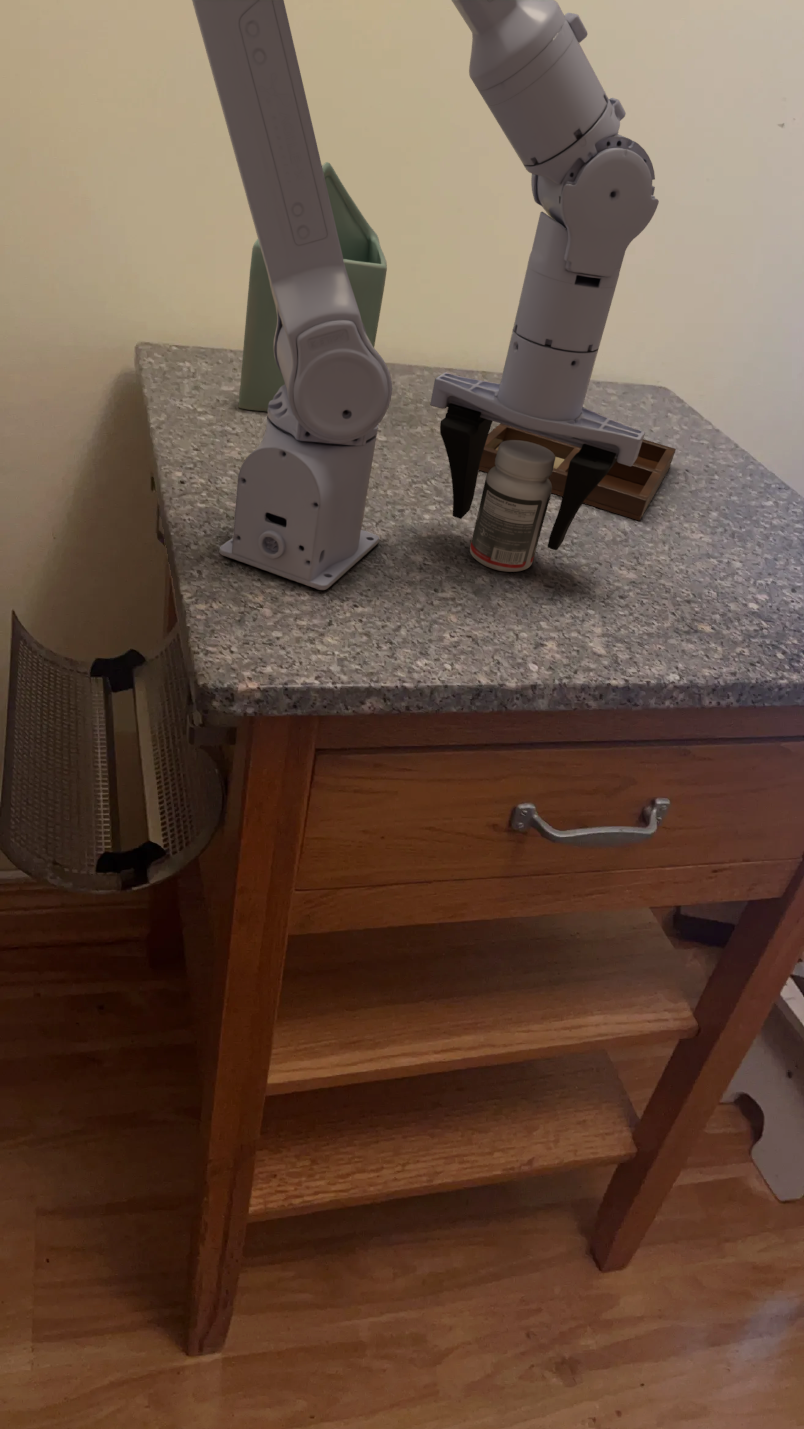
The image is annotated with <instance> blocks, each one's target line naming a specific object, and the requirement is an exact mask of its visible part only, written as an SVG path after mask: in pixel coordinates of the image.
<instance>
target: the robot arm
mask: <svg viewBox="0 0 804 1429" xmlns="http://www.w3.org/2000/svg"><path fill="white" fill-rule="evenodd" d="M191 2H192V6H193V9H194V13H195V17H196V20H197V24H198V27H199V31H200V36H201V38H202V41H203V44H204V48H205V52H206V56H207V60H208V63H209V67H210V70H211V73H212V77H213V78H212V79H213V81H214V84H215V88H216V92H217V96H218V99H219V102H220V103H219V104H220V106H221V110H222V114H223V117H224V122H225V125H226V128H227V132H228V136H229V139H230V142H231V146H232V149H233V153H234V158H235V161H236V164H237V168H238V171H239V175H240V179H241V182H242V186H243V189H244V193H245V196H246V201H247V205H248V207H249V210H250V211H249V212H250V215H251V219H252V222H253V226H254V230H255V233H256V237H257V239H258V240H259V244H260V248H261V251H262V255H263V258H264V262H265V266H266V269H267V273H268V277H269V282H270V287H271V291H272V295H273V299H274V302H275V306H276V312H277V326H276V331H275V336H274V345H273V349H274V357H275V360H276V363H277V366H278V368H279V370H280V372H281V373H282V376H283V379H284V382H285V385H283V386H281V387H280V389H279V390H278V392H277V393H276V394H275V396H274V398H273V400H271V401H270V402H269V404H268V412H266V413H267V416H266V424H265V430H264V432H263V436H262V439H261V440H260V442H259V444H258V445H257V446H256V448H255V449H254V450H252V451H251V452H250V453H249V454H248V455H247V457H245V459H244V460H243V462H242V463H241V466H240V469H239V471H238V476H237V487H236V498H235V509H234V519H233V522H234V523H233V531H232V532H233V534H232V538H230V539H229V540H227V541H226V542H224V543H223V544H222V545H220V546H219V549H218V550H219V554H220V555H221V556H223V557H226V558H229V559H231V560H235V561H237V562H240V563H243V564H246V565H248V566H251V567H254V568H256V569H260V570H262V571H265V572H268V573H270V574H273V575H276V576H279V577H281V578H285V579H287V580H290V581H293V582H296V583H298V584H302V585H305V586H307V587H311V588H313V589H316V590H318V591H327V589H329V588H330V587H331V586H332V585H334V584H335V583H336V582H337V581H338V580H339V579H340V578H341V577H342V576H344V575H345V574H346V573H347V572H348V571H349V570H351V568H352V567H353V566H355V565H356V564H357V563H358V562H359V561H360V560H361V559H362V558H363V557H365V556H366V555H367V554H368V553H369V552H370V551H372V549H374V548H375V547H376V546H377V545H378V544H379V542H380V536H379V535H377V534H376V533H373V532H370V531H367V530H364V529H362V528H363V521H364V516H365V510H366V502H367V498H368V492H369V491H368V490H369V485H370V478H371V473H372V467H373V461H374V454H375V448H376V442H377V436H378V431H379V424H380V423H381V421H382V420H383V418H384V417H385V416H386V414H387V411H388V410H389V407H390V403H391V400H392V395H393V382H392V375H391V372H390V370H389V367H388V365H387V363H386V361H385V360H384V359H383V357H382V356H381V355H380V353H379V352H378V350H376V348H375V346H374V347H373V346H372V344H371V342H370V340H369V338H368V337H367V334H366V330H365V327H364V325H363V323H362V321H361V316H360V312H359V309H358V306H357V303H356V299H355V296H354V293H353V290H352V287H351V284H350V281H349V278H348V275H347V271H346V268H345V264H344V260H343V256H342V251H341V247H340V243H339V238H338V234H337V230H336V225H335V221H334V217H333V212H332V208H331V204H330V199H329V195H328V191H327V186H326V182H325V178H324V173H323V169H322V165H323V164H322V161H321V157H320V152H319V148H318V142H317V139H316V134H315V130H314V126H313V122H312V118H311V113H310V108H309V104H308V99H307V95H306V92H305V88H304V86H305V85H304V83H303V82H304V81H303V78H302V74H301V70H300V69H301V68H300V66H299V61H298V57H297V52H296V47H295V43H294V39H293V35H292V30H291V26H290V22H289V18H288V13H287V9H286V4H285V0H191ZM451 2H452V3H453V5H454V7H455V8H456V10H457V11H458V13H459V15H460V16H461V17H462V19H463V21H464V23H465V24H466V25H467V27H468V29H469V30H470V32H471V35H472V38H471V39H472V41H471V51H470V59H469V66H468V67H469V68H468V74H469V78H470V80H471V81H472V83H473V84H474V86H475V88H476V90H477V91H478V93H479V94H480V96H481V97H482V99H483V101H484V103H485V104H486V106H487V108H488V109H489V110H490V113H491V114H492V116H493V118H494V119H495V121H496V122H497V124H498V126H499V127H500V129H501V130H502V132H503V134H504V135H505V138H506V139H507V140H508V142H509V144H510V145H511V148H513V150H514V152H515V154H516V156H517V157H518V159H519V160H520V162H521V164H522V165H523V167H524V168H525V170H526V172H528V173H530V174H531V180H530V181H531V184H530V185H531V193H532V198H533V201H534V202H535V203H536V204H537V205H539V206H541V207H542V209H543V210H544V211H540V213H539V216H538V221H537V226H536V230H535V234H534V239H533V243H532V246H531V247H532V248H531V251H530V254H529V257H528V261H527V266H526V270H525V273H524V274H525V275H524V279H523V282H522V283H523V284H522V286H521V287H522V288H521V291H520V292H521V293H520V296H519V301H518V305H517V310H516V313H515V317H514V318H515V319H514V322H513V328H512V331H511V335H510V340H509V343H508V348H507V352H506V358H505V361H504V366H503V370H502V374H501V379H500V383H498V382H492V381H487V380H481V379H476V378H471V377H466V376H461V375H457V374H454V373H450V372H447V371H444V372H443V373H441V374H440V375H438V376H437V377H435V378H434V382H433V388H432V393H431V397H430V404H429V405H430V406H431V407H435V408H438V409H442V410H445V409H446V408H447V411H446V413H445V416H444V418H443V419H441V421H440V423H439V433H440V436H441V439H442V441H443V445H444V449H445V452H446V455H447V459H448V464H449V470H450V476H451V483H452V484H451V485H452V486H451V487H452V517H454V518H456V519H460V520H462V519H463V518H464V517H465V516H466V515H467V514H468V512H470V511H471V507H472V504H473V501H474V498H475V492H476V486H477V481H478V475H479V471H480V470H479V465H480V461H481V457H482V454H483V450H484V447H485V443H486V440H487V437H488V434H489V433H490V431H491V427H492V424H493V422H495V423H498V424H500V423H501V424H504V425H508V426H511V427H514V428H518V429H521V430H524V431H527V432H531V433H534V434H537V435H541V436H544V437H547V438H550V439H554V440H557V441H560V442H563V443H567V444H570V445H573V446H577V447H580V448H581V450H580V451H579V452H578V453H576V455H575V456H574V457H573V458H572V459H571V461H570V464H569V468H568V474H567V479H566V484H565V489H564V493H563V496H561V497H562V498H561V502H560V506H559V510H558V513H557V515H556V517H555V520H554V523H553V526H552V529H551V531H550V535H549V539H548V542H547V548H548V549H551V550H554V551H557V550H559V548H560V547H561V545H562V544H563V542H564V541H565V537H566V535H567V532H568V530H569V528H570V527H571V524H572V522H573V521H574V519H575V516H576V515H577V513H578V511H579V510H580V508H582V505H583V504H584V503H583V502H584V500H585V499H586V498H587V496H588V495H589V494H590V493H591V492H592V490H593V489H594V488H595V487H596V486H597V485H598V484H599V482H600V481H601V480H602V479H603V478H604V477H605V476H606V474H607V473H608V472H609V470H610V469H611V467H612V466H613V465H614V463H615V462H616V460H617V462H618V463H621V464H624V465H627V466H632V465H633V464H634V462H635V460H636V459H637V457H638V454H639V450H640V447H641V444H642V441H643V439H645V436H646V435H645V434H646V431H644V430H641V429H639V428H635V427H632V426H631V425H628V424H627V425H626V424H624V423H622V422H619V421H618V420H617V421H616V420H614V419H612V418H610V417H607V416H606V415H602V414H600V413H598V412H597V411H593V410H591V409H589V408H586V407H584V403H585V399H586V396H587V392H588V389H589V385H590V382H591V378H592V374H593V371H594V367H595V364H596V359H597V356H598V353H599V349H600V346H601V342H602V339H603V335H604V331H605V327H606V324H607V320H608V317H609V313H610V310H611V306H612V302H613V299H614V295H615V292H616V288H617V284H618V281H619V277H620V272H621V269H622V265H623V261H624V258H625V254H626V251H627V249H628V248H629V245H631V243H632V242H633V240H634V239H636V238H637V237H638V236H639V235H640V234H641V233H643V231H644V230H645V229H646V228H647V226H648V225H649V223H651V220H652V219H653V217H654V215H655V213H656V211H657V209H658V206H659V199H658V198H656V196H655V188H656V187H655V185H653V181H654V180H656V174H655V169H654V166H653V162H652V160H651V157H650V156H649V154H648V152H647V151H646V150H645V148H644V147H642V146H641V145H640V144H639V143H638V142H636V141H635V140H632V139H631V138H628V137H627V136H625V135H622V134H619V131H620V127H621V121H622V120H623V119H624V118H625V117H626V115H627V113H626V111H625V109H624V107H623V105H622V102H621V101H620V99H617V98H615V97H610V98H609V96H608V95H607V93H606V91H605V89H604V88H603V85H602V84H601V81H600V80H599V78H598V76H597V74H596V72H595V70H594V68H593V67H592V65H591V63H590V60H589V59H588V57H587V56H586V54H585V52H584V50H583V48H582V46H581V44H580V43H581V42H583V41H584V40H585V39H586V38H587V37H588V30H587V28H586V27H585V25H584V22H583V21H582V19H581V16H580V15H579V14H577V13H573V12H567V13H565V14H564V12H563V10H562V8H561V7H560V4H559V3H558V2H557V0H451Z"/></svg>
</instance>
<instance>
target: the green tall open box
mask: <svg viewBox="0 0 804 1429" xmlns="http://www.w3.org/2000/svg"><path fill="white" fill-rule="evenodd" d="M322 169H323V173H324V178H325V182H326V186H327V191H328V195H329V199H330V204H331V208H332V212H333V217H334V221H335V225H336V230H337V234H338V238H339V243H340V247H341V251H342V256H343V260H344V264H345V268H346V271H347V275H348V278H349V281H350V284H351V287H352V290H353V293H354V296H355V299H356V303H357V306H358V309H359V312H360V316H361V321H362V323H363V325H364V327H365V330H366V334H367V337H368V338H369V340H370V342H371V344H372V346H373V347H374V348H375V346H376V339H377V333H378V327H379V323H380V322H379V321H380V316H381V310H382V304H383V297H384V292H385V285H386V278H387V270H388V264H387V263H388V262H387V259H386V256H385V254H384V252H383V249H382V248H381V244H380V239H379V236H378V234H377V233H376V231H375V230H374V229H373V228H372V227H371V225H370V223H369V222H368V221H367V219H366V218H365V216H364V215H363V213H362V212H361V211H360V208H359V207H358V206H357V204H356V203H355V201H354V200H353V198H352V197H351V195H350V194H349V193H348V191H347V189H346V187H345V185H344V184H343V182H342V181H341V179H340V178H339V176H338V174H337V172H336V171H335V169H334V167H333V166H332V164H331V163H330V162H328V161H326V162H324V163H323V164H322ZM248 279H249V280H248V290H247V302H246V312H245V313H246V314H245V323H244V324H245V325H244V336H243V346H242V347H243V349H242V358H241V359H242V360H241V372H240V384H239V385H240V386H239V396H238V408H239V409H241V410H247V411H256V412H257V411H258V412H266V413H268V404H269V402H270V401H271V400H273V398H274V396H275V394H276V393H277V392H278V390H279V389H280V387H281V386H283V385H285V382H284V379H283V376H282V373H281V372H280V370H279V368H278V366H277V363H276V360H275V357H274V349H273V345H274V336H275V331H276V326H277V312H276V306H275V302H274V299H273V295H272V291H271V287H270V282H269V277H268V273H267V269H266V266H265V262H264V258H263V255H262V251H261V248H260V244H259V240H258V238H257V239H256V240H255V242H254V244H253V246H252V248H251V258H250V268H249V278H248Z"/></svg>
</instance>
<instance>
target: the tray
mask: <svg viewBox="0 0 804 1429" xmlns="http://www.w3.org/2000/svg"><path fill="white" fill-rule="evenodd" d="M508 440H520V441H527V442H531V443H535V444H538V445H540V446H543V447H545V448H547V449H549V450H550V451H551V452H553V453H554V455H555V462H554V467H553V472H552V474H551V476H550V477H549V478H548V479H549V480H550V482H551V485H552V491H551V494H553V495H557V496H560V497H563V493H564V489H565V484H566V479H567V474H568V468H569V464H570V461H571V459H572V458H573V457H574V456H575V455H576V453H578V452H579V451H580V450H581V448H580V447H577V446H573V445H570V444H567V443H563V442H560V441H557V440H554V439H550V438H547V437H544V436H541V435H537V434H534V433H531V432H527V431H524V430H521V429H518V428H514V427H511V426H508V425H504V424H501V423H498V425H497V426H495V427H494V428H493V429H492V430H490V431H489V434H488V437H487V440H486V443H485V447H484V450H483V454H482V457H481V461H480V465H479V470H478V471H482V472H484V473H486V474H487V473H488V472H489V470H490V469H491V468H493V467H494V466H496V465H495V458H496V455H497V452H498V448H499V445H500V443H502V442H504V441H508ZM676 450H677V449H676V448H674V447H671V446H668V445H664V444H661V443H658V442H654V441H651V440H648V439H645V438H643V441H642V444H641V447H640V450H639V454H638V457H637V459H636V460H635V462H634V464H633V465H632V466H627V465H624V464H621V463H618V462H617V460H616V462H615V463H614V465H613V466H612V467H611V469H610V470H609V472H608V473H607V474H606V476H605V477H604V478H603V479H602V480H601V481H600V482H599V484H598V485H597V486H596V487H595V488H594V489H593V490H592V492H591V493H590V494H589V495H588V496H587V498H586V499H585V500H584V502H583V503H582V504H585V505H589V506H591V507H594V508H598V509H601V510H604V511H607V512H611V513H613V514H616V515H620V516H622V517H626V518H629V519H632V520H635V521H639V522H640V521H641V519H642V518H643V516H644V514H645V512H646V511H647V509H648V507H649V505H650V503H651V501H652V500H653V498H654V496H655V495H656V493H657V491H658V489H659V487H660V486H661V484H662V482H663V481H664V478H665V477H666V475H667V473H668V471H669V470H670V468H671V465H672V462H673V459H674V456H675V453H676Z"/></svg>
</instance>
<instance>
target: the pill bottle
mask: <svg viewBox="0 0 804 1429" xmlns="http://www.w3.org/2000/svg"><path fill="white" fill-rule="evenodd" d="M554 462H555V455H554V453H553V452H551V451H550V450H549V449H547V448H545V447H543V446H540V445H538V444H535V443H531V442H527V441H520V440H508V441H504V442H502V443H500V445H499V448H498V452H497V455H496V458H495V465H496V466H494V467H493V468H491V469H490V470H489V472H488V473H487V472H486V477H485V480H484V484H483V485H484V486H483V489H482V492H481V493H482V494H481V498H480V502H479V507H478V511H477V516H476V519H475V525H474V529H473V533H472V537H471V541H470V546H469V552H470V555H471V556H472V558H473V559H474V560H475V561H477V562H478V563H479V564H480V565H483V566H485V567H486V568H489V569H491V570H494V571H498V572H504V573H505V572H506V573H512V572H513V573H515V572H521V571H525V570H527V569H529V568H530V567H531V566H532V564H533V561H534V558H535V554H536V550H537V547H538V544H539V540H540V536H541V532H542V529H543V525H544V521H545V518H546V514H547V510H548V506H549V503H550V499H551V496H552V493H551V491H552V485H551V482H550V480H549V479H548V478H549V477H550V476H551V474H552V472H553V467H554Z"/></svg>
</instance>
